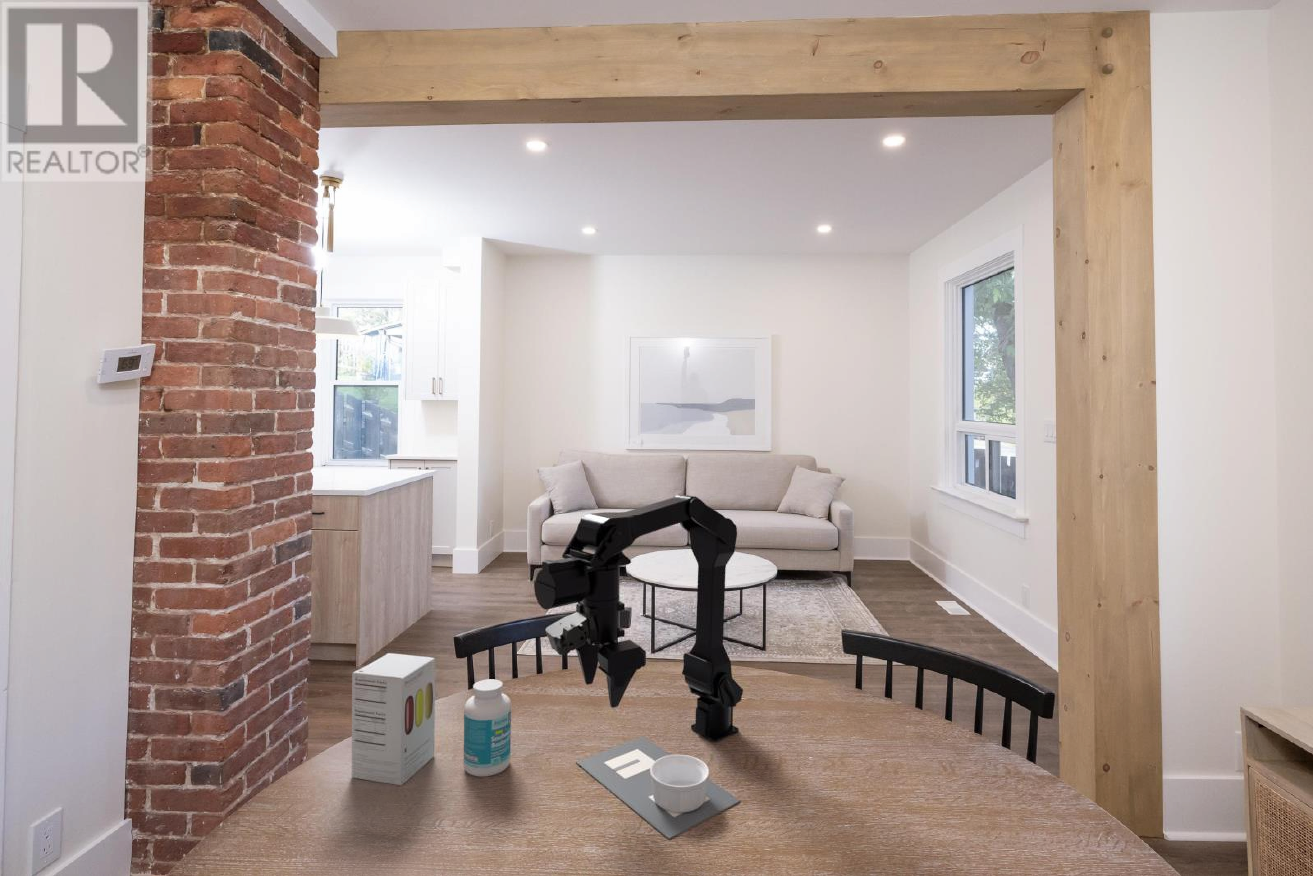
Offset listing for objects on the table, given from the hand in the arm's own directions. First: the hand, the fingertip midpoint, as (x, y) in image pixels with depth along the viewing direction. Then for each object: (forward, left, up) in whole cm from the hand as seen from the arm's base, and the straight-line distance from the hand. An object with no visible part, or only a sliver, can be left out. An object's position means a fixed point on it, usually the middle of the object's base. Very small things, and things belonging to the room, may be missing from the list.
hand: (601, 695), depth 98 cm
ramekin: (-7, +11, -14) cm, 19 cm away
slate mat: (-7, +5, -14) cm, 16 cm away
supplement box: (+24, -24, -14) cm, 37 cm away
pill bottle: (+12, -15, -14) cm, 24 cm away
